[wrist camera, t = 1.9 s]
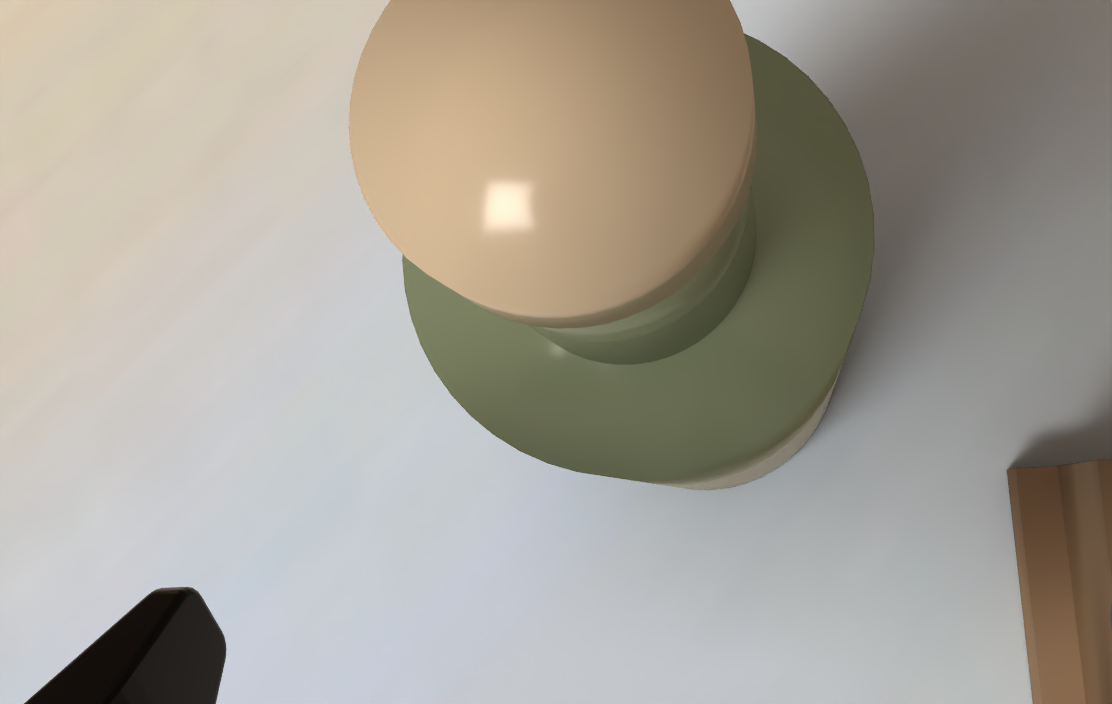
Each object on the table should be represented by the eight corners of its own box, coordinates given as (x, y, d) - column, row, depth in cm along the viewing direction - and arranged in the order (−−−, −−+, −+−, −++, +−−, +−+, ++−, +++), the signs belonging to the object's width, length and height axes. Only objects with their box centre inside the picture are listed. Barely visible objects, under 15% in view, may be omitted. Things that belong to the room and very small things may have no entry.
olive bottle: (846, 483, 20) (959, 440, 7) (582, 496, 21) (215, 482, 8) (824, 222, 21) (882, -293, 7) (570, 247, 22) (218, -160, 9)
